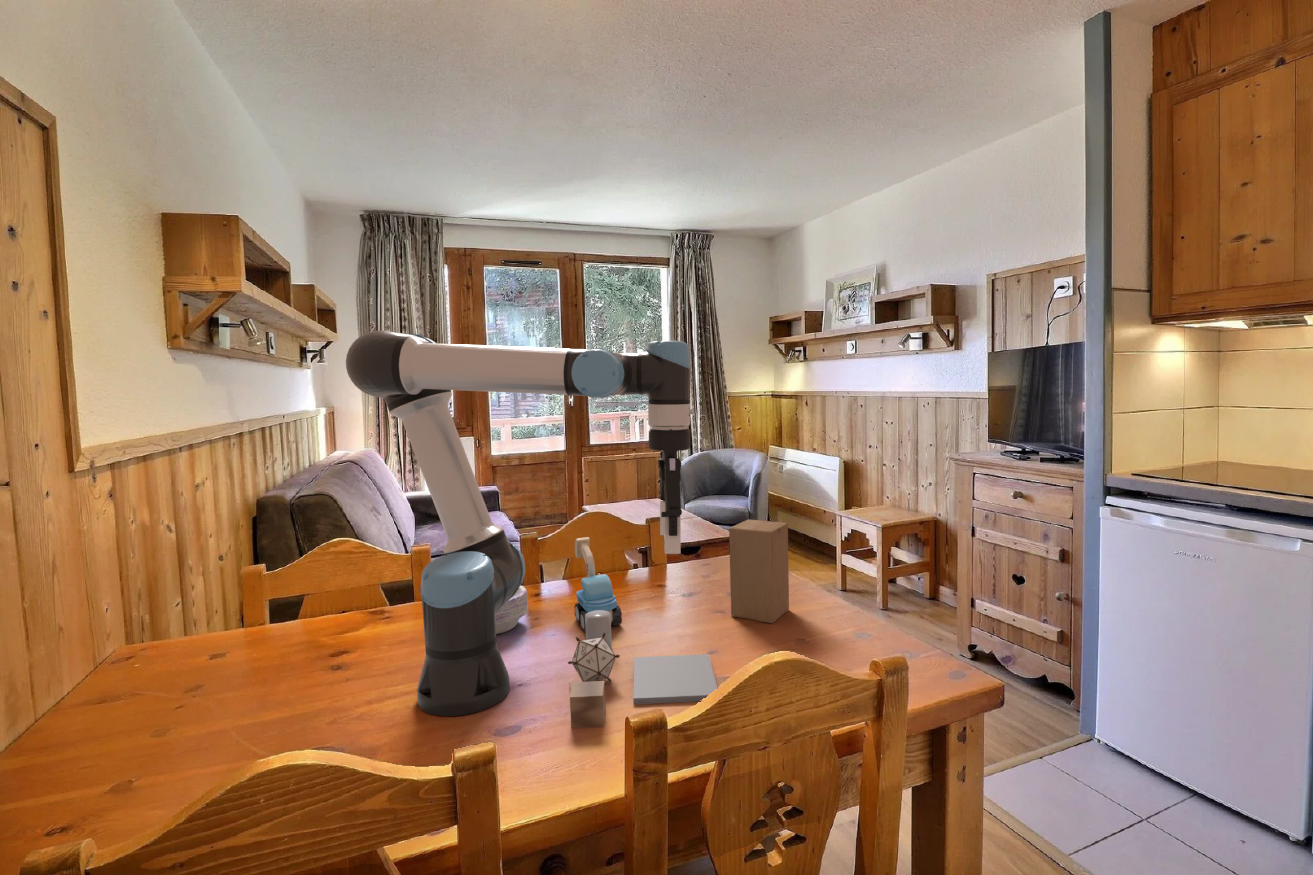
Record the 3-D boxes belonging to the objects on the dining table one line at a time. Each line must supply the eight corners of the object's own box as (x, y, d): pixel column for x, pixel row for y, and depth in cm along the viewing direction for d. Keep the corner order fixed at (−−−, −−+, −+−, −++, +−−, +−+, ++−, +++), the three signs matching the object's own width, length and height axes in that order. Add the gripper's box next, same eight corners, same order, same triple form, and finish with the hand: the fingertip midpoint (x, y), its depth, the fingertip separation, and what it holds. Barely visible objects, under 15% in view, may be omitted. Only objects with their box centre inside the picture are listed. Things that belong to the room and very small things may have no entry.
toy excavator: (603, 604, 156) (600, 533, 154) (624, 628, 140) (621, 549, 139) (567, 609, 153) (564, 537, 151) (585, 634, 137) (582, 554, 136)
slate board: (633, 704, 107) (633, 698, 107) (634, 662, 123) (634, 657, 123) (719, 700, 107) (719, 694, 107) (708, 659, 123) (708, 653, 123)
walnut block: (571, 728, 100) (569, 697, 100) (574, 712, 105) (573, 682, 105) (604, 726, 100) (602, 695, 100) (605, 710, 105) (604, 680, 105)
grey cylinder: (585, 654, 127) (583, 619, 127) (587, 644, 132) (586, 610, 132) (611, 653, 127) (609, 618, 127) (612, 643, 132) (611, 609, 132)
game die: (602, 705, 115) (609, 675, 108) (558, 685, 116) (562, 655, 110) (621, 663, 121) (629, 632, 115) (579, 644, 123) (585, 614, 116)
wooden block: (789, 609, 148) (788, 522, 146) (772, 624, 140) (771, 532, 138) (749, 602, 153) (747, 518, 152) (730, 616, 145) (728, 527, 143)
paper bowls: (490, 611, 153) (488, 578, 153) (542, 620, 146) (540, 586, 146) (441, 634, 140) (438, 598, 139) (495, 646, 133) (493, 608, 132)
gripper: (698, 433, 106) (697, 561, 108) (683, 422, 131) (683, 527, 133) (651, 433, 105) (652, 562, 107) (646, 423, 130) (646, 528, 132)
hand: (669, 543), depth 120 cm, fingers open, 13 cm apart
